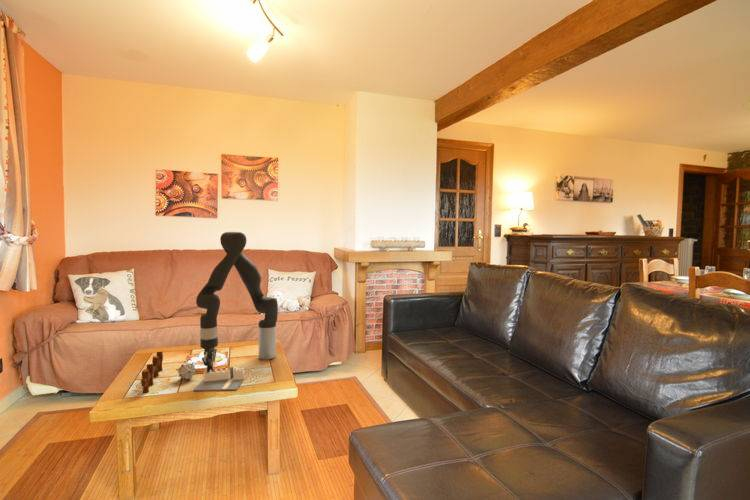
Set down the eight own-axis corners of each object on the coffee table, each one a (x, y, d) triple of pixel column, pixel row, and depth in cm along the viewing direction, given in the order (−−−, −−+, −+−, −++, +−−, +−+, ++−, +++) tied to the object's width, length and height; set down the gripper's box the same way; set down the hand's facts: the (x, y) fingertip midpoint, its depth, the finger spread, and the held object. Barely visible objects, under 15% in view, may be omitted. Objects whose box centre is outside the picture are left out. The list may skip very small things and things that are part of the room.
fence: (158, 368, 197) (158, 348, 196) (164, 367, 197) (164, 348, 197) (139, 395, 165) (139, 372, 164) (147, 395, 165) (147, 371, 165)
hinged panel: (233, 377, 183) (233, 366, 183) (233, 378, 182) (233, 367, 181) (203, 380, 179) (203, 369, 178) (203, 381, 177) (203, 370, 177)
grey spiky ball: (191, 386, 184) (205, 368, 185) (178, 386, 176) (192, 368, 177) (181, 373, 188) (195, 356, 189) (168, 373, 180) (181, 355, 181)
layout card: (203, 379, 182) (203, 378, 182) (244, 378, 184) (244, 377, 184) (193, 391, 169) (192, 389, 169) (236, 390, 171) (236, 388, 171)
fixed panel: (233, 379, 182) (233, 368, 181) (234, 378, 183) (234, 367, 183) (243, 379, 182) (243, 368, 182) (244, 378, 183) (243, 367, 183)
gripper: (205, 332, 186) (206, 367, 188) (195, 341, 173) (196, 378, 174) (222, 332, 187) (222, 367, 188) (212, 340, 173) (213, 378, 175)
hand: (210, 372), depth 181 cm, fingers closed
